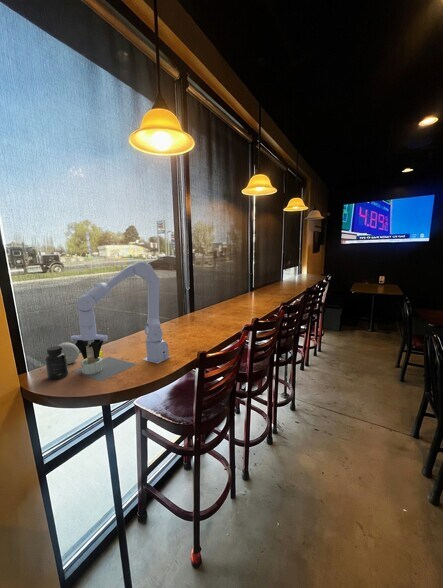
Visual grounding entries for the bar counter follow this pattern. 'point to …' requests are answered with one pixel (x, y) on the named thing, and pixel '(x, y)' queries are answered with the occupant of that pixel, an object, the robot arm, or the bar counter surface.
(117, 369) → the mat
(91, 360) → the peg
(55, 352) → the supplement bottle
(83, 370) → the jar
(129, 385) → the bar counter surface
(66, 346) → the grey round disc
